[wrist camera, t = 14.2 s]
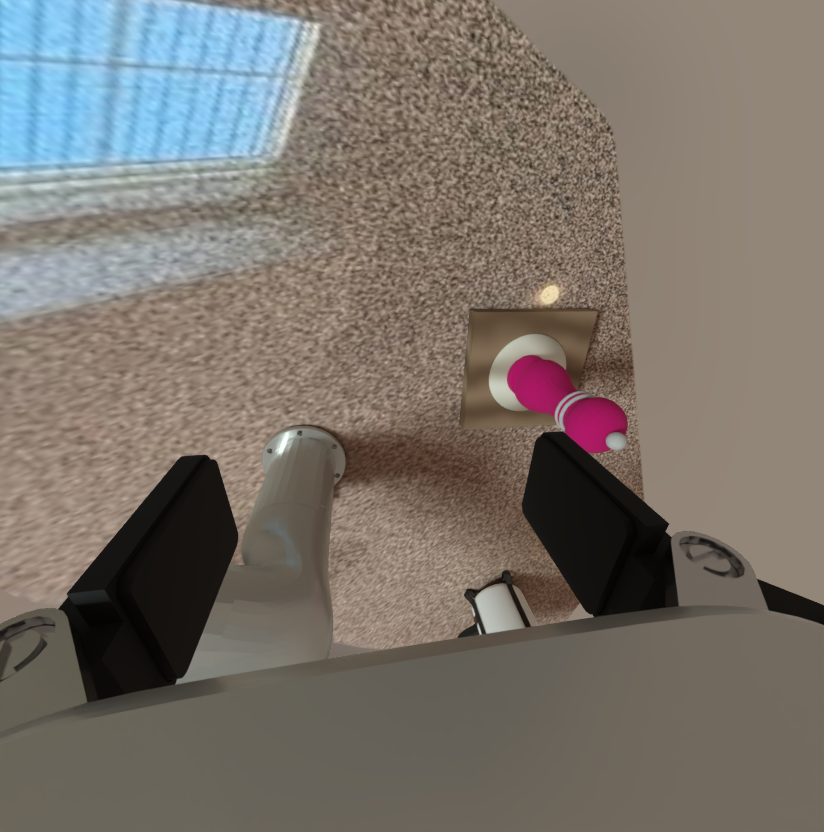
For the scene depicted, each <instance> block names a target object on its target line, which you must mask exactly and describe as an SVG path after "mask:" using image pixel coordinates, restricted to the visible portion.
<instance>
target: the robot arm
mask: <svg viewBox="0 0 824 832" xmlns="http://www.w3.org/2000/svg"><path fill="white" fill-rule="evenodd" d="M301 431H302V432H301ZM334 444H336V445H334ZM262 465H263V469H264V472H265V474H266V477H265V479H264V482H263V484H262V487H261V490H260V492H259V495H258V497H257V500H256V503H255V505H254V508H253V510H252V513H251V515H250V518H249V521H248V523H247V526H246V529H245V531H244V534H243V538H242V546H241V550H242V559H243V563H244V566H243V565H236V564H230V562H231V559H232V557H233V554H234V552H235V549H236V546H237V543H238V531H237V528H236V524H235V521H234V518H233V514H232V511H231V507H230V504H229V501H228V497H227V494H226V491H225V487H224V484H223V480H222V477H221V474H220V470H219V467H218V464H217V462H216V460H210V458H209V457H208V456H207V455H194V456H182V457H180V458H179V459H178V460H177V462H176V463H175V464H174V465H173V466H172V468H171V469H170V470H169V471H168V472H167V474H166V475H165V476H164V477H163V478H162V480H161V481H160V482H159V483H158V485H157V486H156V487H155V488H154V489H153V491H152V492H151V493H150V494H149V495H148V497H147V498H146V499H145V500H144V501H143V503H142V504H141V505H140V506H139V507H138V509H137V510H136V511H135V512H134V513H133V515H132V516H131V517H130V518H129V519H128V521H127V522H126V523H125V524H124V525H123V527H122V528H121V529H120V530H119V531H118V533H117V534H116V535H115V536H114V537H113V539H112V540H111V541H110V542H109V543H108V545H107V546H106V547H105V548H104V549H103V551H102V552H101V553H100V554H99V555H98V557H97V558H96V559H95V560H94V561H93V563H92V564H91V565H90V566H89V567H88V569H87V570H86V571H85V572H84V573H83V575H82V576H81V577H80V578H79V579H78V581H77V582H76V583H75V584H74V586H73V587H72V588H71V589H70V590H69V592H68V593H67V595H68V598H67V599H66V600H65V601H64V603H63V604H62V605H61V606H60V608H59V609H55V608H45V609H37V610H34V611H30V612H26V613H23V614H21V615H18V616H16V617H14V618H11V619H9V620H7V621H5V622H3V623H1V624H0V832H824V605H822V604H819V603H817V602H814V601H812V600H809V599H806V598H804V597H802V596H799V595H797V594H794V593H791V592H789V591H786V590H784V589H781V588H779V587H776V586H774V585H771V584H769V583H766V582H764V581H761V580H759V579H757V578H756V575H755V573H754V571H753V569H752V567H751V565H750V564H749V562H748V561H747V560H746V559H745V558H744V557H743V556H742V555H741V554H740V553H738V552H737V551H736V550H734V549H733V548H731V547H730V546H729V545H727V544H725V543H723V542H721V541H720V540H718V539H715V538H713V537H710V536H707V535H705V534H701V533H697V532H692V531H682V532H677V533H676V534H674V535H673V536H672V537H670V536H669V535H668V534H667V533H666V532H665V531H666V529H667V527H668V525H669V523H668V522H666V521H665V520H664V519H663V518H662V517H661V516H660V515H658V514H657V513H656V512H655V511H654V510H653V509H651V508H650V507H649V506H648V505H647V504H646V503H645V502H644V501H642V500H641V499H640V498H639V497H638V496H637V495H635V494H634V493H633V492H632V491H631V490H630V489H629V488H627V487H626V486H625V485H624V484H623V483H622V482H621V481H619V480H618V479H617V478H616V477H615V476H614V475H613V474H611V473H610V472H609V471H608V470H607V469H606V468H605V467H603V466H602V465H601V464H600V463H599V462H598V461H596V460H595V459H594V458H593V457H592V456H591V455H590V454H588V453H587V452H586V451H585V450H584V449H583V448H582V447H580V446H579V445H578V444H577V443H576V442H575V441H574V440H572V439H571V438H570V437H569V436H568V435H567V434H566V433H564V432H545V433H543V434H542V435H541V437H539V438H537V440H536V442H535V446H534V451H533V456H532V460H531V465H530V470H529V474H528V479H527V483H526V488H525V493H524V497H523V502H522V510H523V514H524V516H525V517H526V519H527V520H528V522H529V524H530V525H531V527H532V528H533V530H534V531H535V533H536V534H537V536H538V538H539V539H540V541H541V542H542V544H543V545H544V547H545V549H546V550H547V552H548V553H549V555H550V556H551V558H552V559H553V561H554V563H555V564H556V566H557V567H558V569H559V570H560V572H561V574H562V575H563V577H564V578H565V580H566V581H567V583H568V584H569V586H570V588H571V589H572V591H573V592H574V594H575V595H576V597H577V599H578V600H579V602H580V603H581V605H582V606H583V608H584V609H585V611H586V612H588V613H589V614H593V616H594V617H593V618H586V619H580V620H573V621H566V622H560V623H553V624H546V625H540V626H533V627H527V628H520V629H513V630H507V631H500V632H494V633H487V634H481V635H475V636H468V637H462V638H456V639H449V640H443V641H436V642H430V643H424V644H417V645H411V646H405V647H398V648H392V649H386V650H379V651H373V652H367V653H361V654H354V655H348V656H342V657H336V658H330V659H328V656H329V653H330V649H331V643H332V636H333V610H332V601H331V593H330V586H329V573H328V558H329V541H330V529H331V517H332V505H333V492H334V485H335V484H336V483H337V482H338V481H339V480H340V479H341V477H342V475H343V473H344V471H345V467H346V456H345V452H344V449H343V447H342V445H341V443H340V442H339V441H338V440H337V439H336V438H335V437H334V436H333V435H331V434H330V433H329V432H327V431H325V430H323V429H320V428H317V427H312V426H295V427H290V428H287V429H284V430H282V431H280V432H279V433H277V434H276V435H274V436H273V437H272V438H271V439H270V441H269V442H268V443H267V445H266V447H265V449H264V452H263V456H262Z"/></svg>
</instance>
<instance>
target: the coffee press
mask: <svg viewBox="0 0 824 832" xmlns="http://www.w3.org/2000/svg"><path fill="white" fill-rule="evenodd" d="M464 596H465V598H466V599H467V600H468V601H469V602H470V603H471V604H472V612H473V615H474V622H475V624H474V625H473V626H471V627H469V628H467V629H466V630H464V631H463V632H462V633H461V634H460V635H459V636H458V638H462V637H468V636H475V635H479V634H480V635H481V634H487V633H494V632H500V631H507V630H513V629H520V628H527V627H533V626H538V624H537V622H536V620H535V617H534V615H533V613H532V611H531V609H530V607H529V605H528V603H527V601H526V599H525V597H524V595H523V593H522V592H521V590H520V589H519V588H518V587H516V586H514V585H512V582H511V574H510V572H502V581H501V583H500V584H495V585H491V586H489V587H487V588H485V589H483V590H482V591H481V592H480V593H478V594H476V593H474V592H473V591H472V590H470V589H467V590H466V592H465V594H464ZM472 597H473V598H475V599H473V598H472Z"/></svg>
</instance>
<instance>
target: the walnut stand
mask: <svg viewBox="0 0 824 832" xmlns="http://www.w3.org/2000/svg"><path fill="white" fill-rule="evenodd" d="M597 313H598V311H595V310H591V309H587V308H580V309H470V314H469V325H468V336H467V347H466V357H465V368H464V379H463V390H462V400H461V411H460V422H459V423H460V425H461V426H462V428H463V430H477V429H493V428H509V427H525V426H541V425H557V423H556V421H555V417H553V416H552V415H550V414H547V413H537V412H534V411H531V410H528V409H527V408H525V407H524V406H522V405H521V404H520V403H519V401H518V400H517V398H516V396H515V394H514V393H513V392H512V391H511V390H510V388H509V387H508V384H507V374H508V371H509V369H510V367H511V366H512V365H513V363H514V362H515V361H517V360H518V359H520V358H521V357H523V356H527V355H535V356H538V357H540V358H542V359H544V360H552V361H554V362H557V363H558V364H559V365H561V366H562V367H563V368H564V369H565V370H566V371H567V373H568V374H569V376H570V378H571V381H572V384H573V386H574V387H575V388H576V389H577V390H578V386H579V382H580V378H581V374H582V371H583V367H584V363H585V359H586V355H587V351H588V348H589V344H590V340H591V336H592V332H593V328H594V325H595V321H596V317H597Z"/></svg>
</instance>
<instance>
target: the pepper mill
mask: <svg viewBox="0 0 824 832" xmlns="http://www.w3.org/2000/svg"><path fill="white" fill-rule="evenodd" d="M507 384H508V387H509V388H510V390H511V391H512V392H513V393H514V394H515V396H516V398H517V400H518V401H519V403H520V404H521V405H522V406H524V407H525V408H527V409H528V410H531V411H534V412H537V413H547V414H550V415H552V416H553V417H555V421H556V423H557V425H558V426H559V427H560V428H562V429H563V430H564V431H565V433H566V434H567V435H568V436H569V437H570V438H571V439H572V440H574V441H575V442H576V443H577V444H578V445H579V446H580V447H582V448H583V449H584V450H585V451H586V452H589V453H602V452H605V451H608V450H610V449H613V450H620V449H623V448H624V447H625V446H626V444H627V439H626V437H625V434H626V431H627V426H628V422H627V417H626V415H625V413H624V411H623V410H622V408H621V407H619V406H618V405H617V404H616V403H615V402H613V401H611V400H609V399H606V398H599V397H595V396H594V395H592V394H590V393H589V392H586V391H578V390H577V389H576V388H575V387H574V386H573V384H572V381H571V378H570V376H569V374H568V373H567V371H566V370H565V369H564V368H563V367H562V366H561V365H559V364H558V363H557V362H554V361H552V360H544V359H542V358H540V357H538V356H535V355H527V356H523V357H521V358H520V359H518V360H517V361H515V362H514V363H513V365H512V366H511V367H510V369H509V371H508V374H507Z"/></svg>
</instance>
